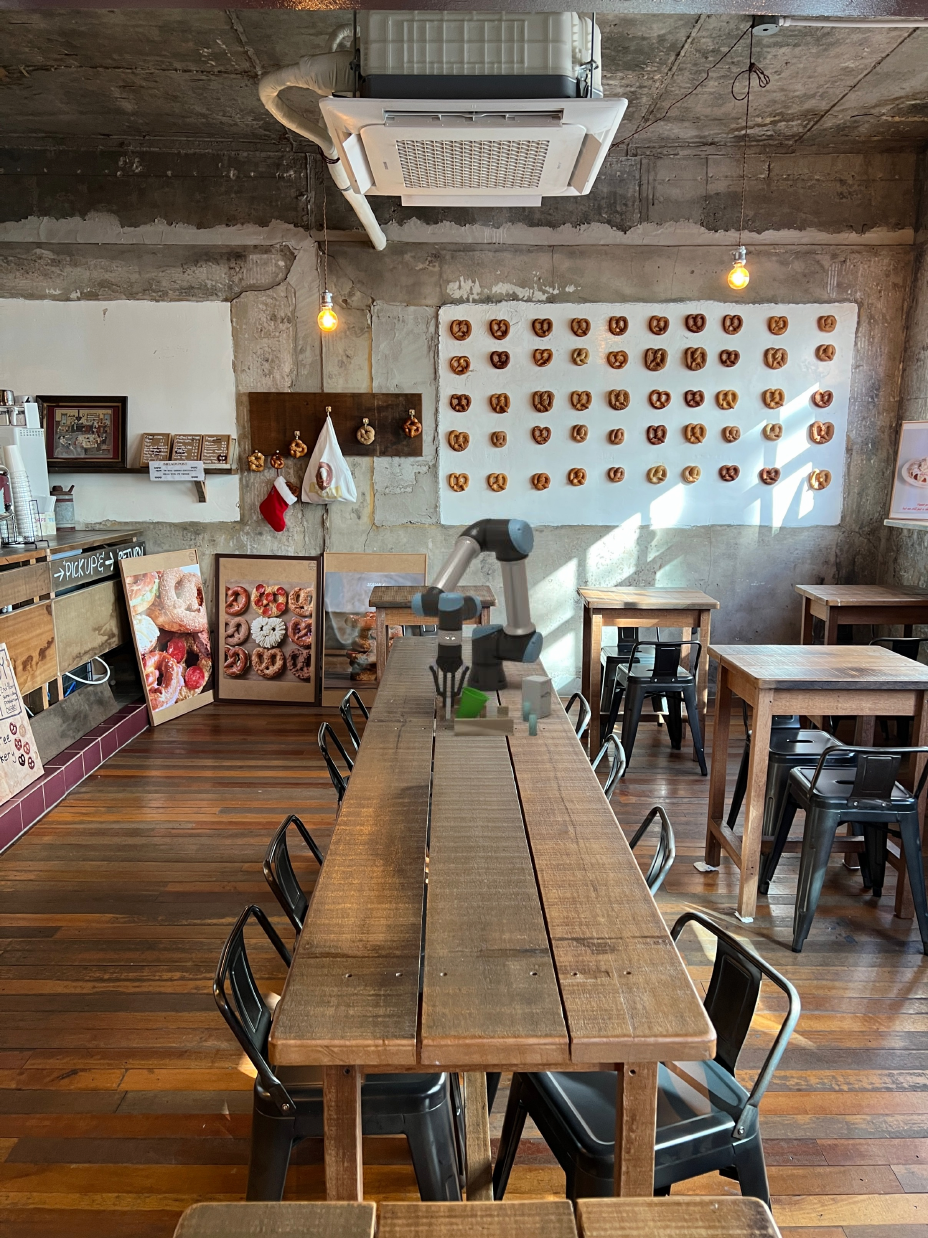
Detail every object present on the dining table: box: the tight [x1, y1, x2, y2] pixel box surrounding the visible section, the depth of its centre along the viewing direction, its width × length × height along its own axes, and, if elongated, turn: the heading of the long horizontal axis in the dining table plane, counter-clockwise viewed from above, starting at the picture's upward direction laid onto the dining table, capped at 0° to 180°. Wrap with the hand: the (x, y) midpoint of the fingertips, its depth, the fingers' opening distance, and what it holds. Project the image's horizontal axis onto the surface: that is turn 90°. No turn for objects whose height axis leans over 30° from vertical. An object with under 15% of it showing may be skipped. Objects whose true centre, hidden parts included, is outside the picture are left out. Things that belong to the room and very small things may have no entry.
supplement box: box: [520, 674, 552, 720], centre depth 287 cm, size 7×7×13 cm
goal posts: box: [522, 702, 538, 737], centre depth 273 cm, size 17×2×6 cm, turn 3°
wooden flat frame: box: [438, 695, 515, 737], centre depth 279 cm, size 28×22×5 cm
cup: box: [456, 686, 490, 719], centre depth 271 cm, size 9×9×11 cm
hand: (448, 717), depth 271 cm, fingers closed
